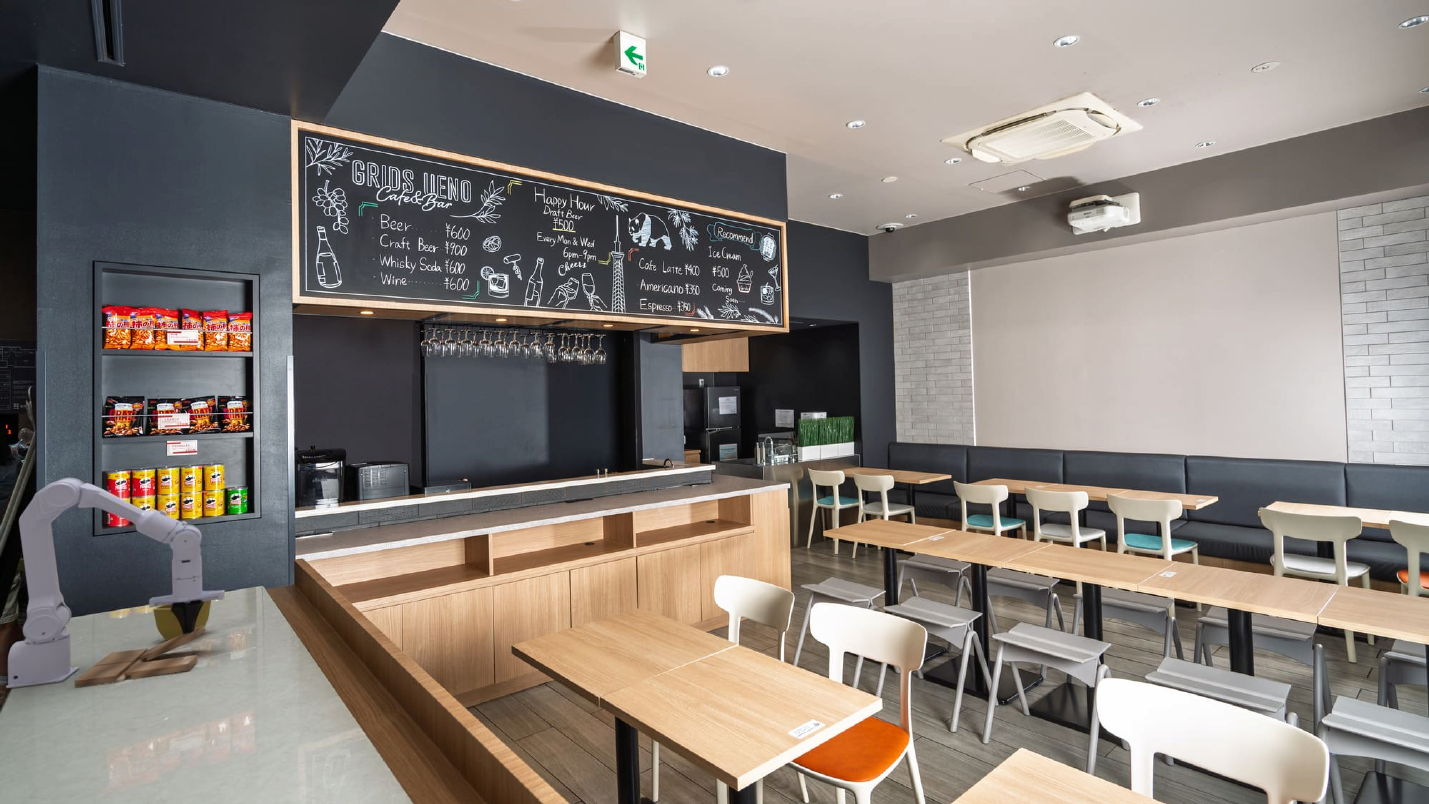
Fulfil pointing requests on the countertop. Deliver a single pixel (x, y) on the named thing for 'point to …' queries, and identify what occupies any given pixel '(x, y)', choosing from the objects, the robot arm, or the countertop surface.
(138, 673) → the plank near
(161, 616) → the flower pot
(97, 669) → the laid floor
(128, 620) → the countertop surface
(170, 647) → the plank far
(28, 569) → the robot arm
